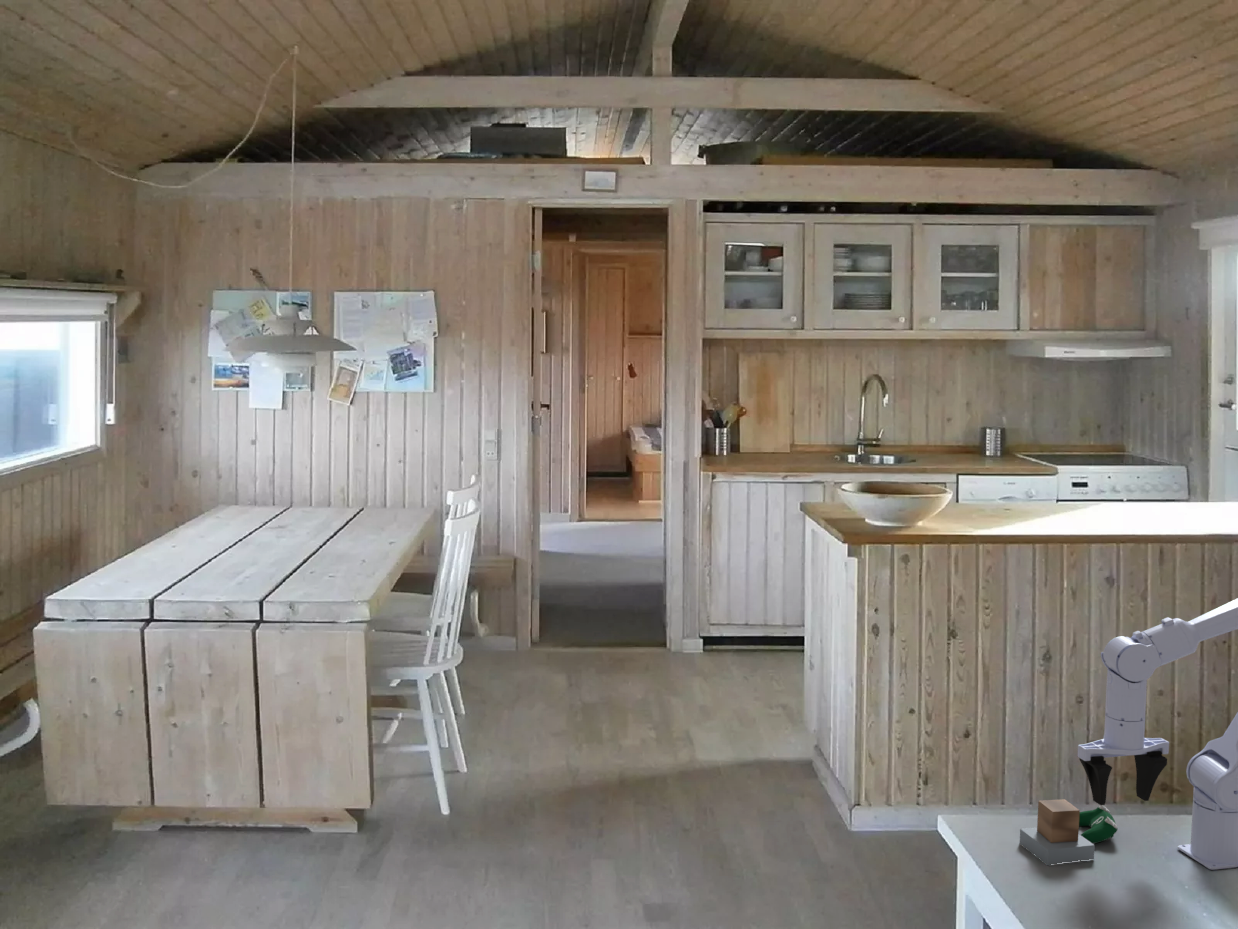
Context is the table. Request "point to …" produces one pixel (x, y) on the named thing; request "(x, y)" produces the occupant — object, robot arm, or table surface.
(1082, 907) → the table surface
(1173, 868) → the table surface
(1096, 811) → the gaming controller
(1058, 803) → the walnut block
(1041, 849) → the slate block
